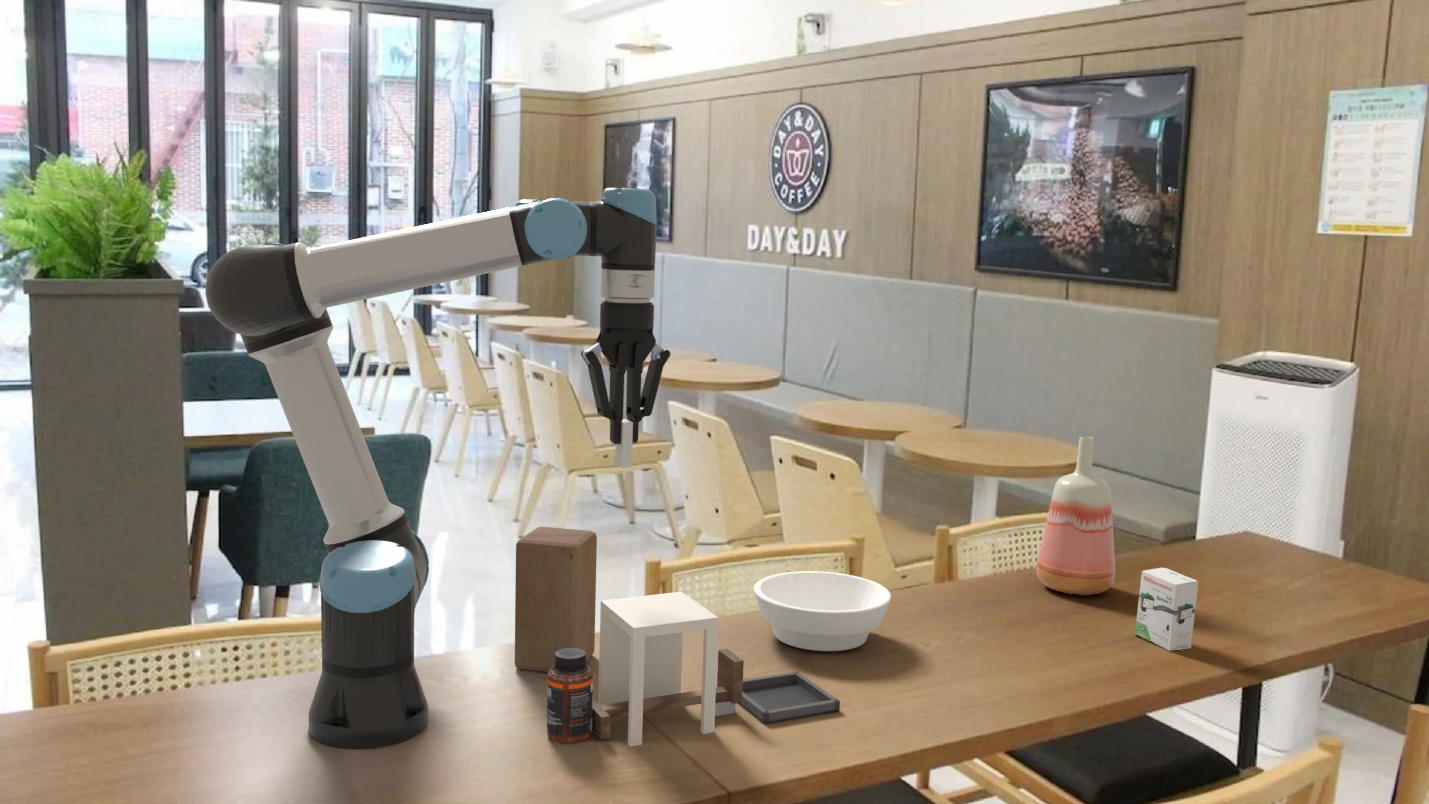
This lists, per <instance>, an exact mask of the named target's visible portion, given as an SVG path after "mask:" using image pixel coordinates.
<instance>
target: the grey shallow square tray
mask: <svg viewBox="0 0 1429 804" xmlns="http://www.w3.org/2000/svg"><path fill="white" fill-rule="evenodd" d="M738 705H740V706H741V707H742V708H744V709H745V710H746V711H747V712H748V713H750V714H751V715H753V717H755V718H756V719H757V721H760V723H762V724H763V725H769V724H771V723H772V724H773V723H778V722H785V721H791V720H797V719H802V718H807V717H808V718H809V717H812V716H814V717H815V716H819V715H826V714H832V713H838V712H840V709H841V701H840V700H839V699H838V698H836V697H835V696H833V695H832V694H831V693H829V692H828V691H827V690H825V689H823V688H822V687H821V686H819V685H817V683H815V682H814V681H812V680H810V679H809V678H807V676H804V675H803V674H801V673H800V672H799V671H792V672H785V673H779V674H772V675H771V674H770V675H766V676H764V675H763V676H759V677H753V678H743V690H742V702H741V703H738Z"/></svg>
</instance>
